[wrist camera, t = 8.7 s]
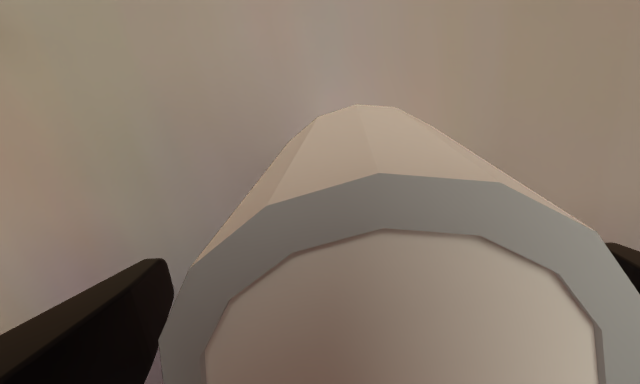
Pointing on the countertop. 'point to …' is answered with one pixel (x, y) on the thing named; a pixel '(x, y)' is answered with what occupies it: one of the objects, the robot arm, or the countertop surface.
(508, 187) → the shot glass
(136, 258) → the countertop surface
